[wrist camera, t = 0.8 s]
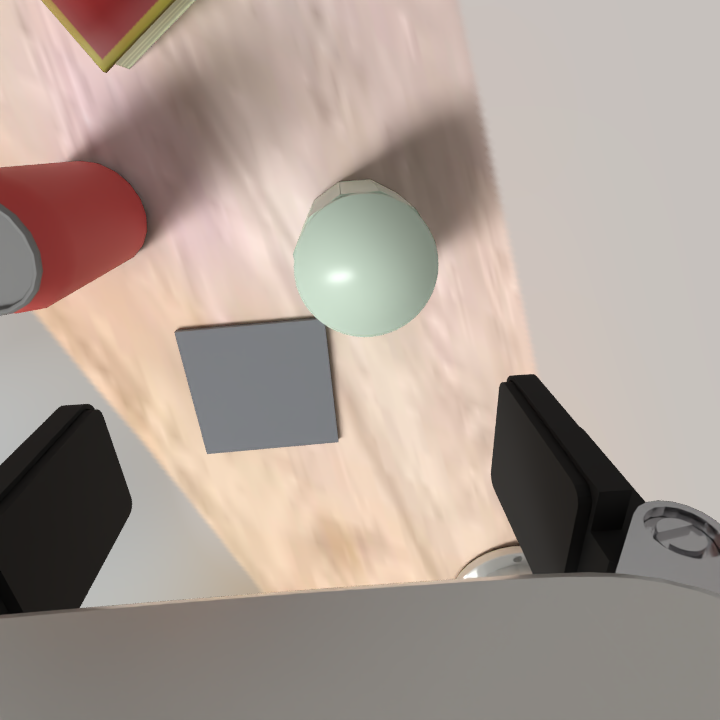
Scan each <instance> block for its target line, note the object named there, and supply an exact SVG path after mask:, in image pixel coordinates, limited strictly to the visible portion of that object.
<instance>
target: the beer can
mask: <svg viewBox="0 0 720 720" xmlns="http://www.w3.org/2000/svg"><path fill="white" fill-rule="evenodd" d="M146 233H147V222H146V213H145V211H144V208H143V205H142V202H141V199H140V198H139V196H138V195H137V193H136V192H135V191H134V189H133V188H132V186H131V185H130V184H129V183H128V182H127V181H126V180H125V179H124V178H122V177H121V176H120V175H119V174H118V173H116V172H115V171H113V170H111V169H109V168H107V167H105V166H102V165H100V164H98V163H92V162H85V161H73V162H61V163H49V164H37V165H25V166H13V167H1V168H0V316H1V315H7V314H12V313H21V312H27V311H32V310H38V309H43V308H47V307H49V306H50V305H52V304H54V303H55V302H57V301H59V300H61V299H62V298H64V297H66V296H68V295H69V294H71V293H73V292H74V291H76V290H78V289H80V288H81V287H83V286H85V285H86V284H88V283H90V282H92V281H93V280H95V279H97V278H98V277H100V276H102V275H104V274H105V273H107V272H109V271H110V270H112V269H114V268H116V267H117V266H119V265H121V264H122V263H124V262H126V261H127V260H129V259H131V258H133V257H134V256H135V255H136V253H137V252H138V251H139V250H140V248H141V247H142V246H143V243H144V240H145V236H146Z"/></svg>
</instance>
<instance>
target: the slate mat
mask: <svg viewBox="0 0 720 720" xmlns="http://www.w3.org/2000/svg"><path fill="white" fill-rule="evenodd" d="M175 336H176V340H177V344H178V347H179V351H180V355H181V359H182V362H183V366H184V370H185V373H186V377H187V381H188V385H189V388H190V392H191V396H192V400H193V403H194V407H195V411H196V414H197V418H198V422H199V426H200V429H201V433H202V437H203V441H204V444H205V448H206V452H207V454H212V453H223V452H234V451H245V450H256V449H267V448H278V447H290V446H301V445H312V444H323V443H334V442H338V432H337V424H336V415H335V406H334V397H333V389H332V380H331V371H330V362H329V354H328V345H327V336H326V328H325V324H323V323H322V322H320V321H319V320H318V319H317V318H310V319H299V320H287V321H276V322H264V323H253V324H241V325H230V326H219V327H207V328H196V329H184V330H176V331H175Z"/></svg>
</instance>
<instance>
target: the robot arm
mask: <svg viewBox="0 0 720 720" xmlns="http://www.w3.org/2000/svg"><path fill="white" fill-rule="evenodd" d="M491 479H492V484H493V487H494V490H495V492H496V494H497V496H498V499H499V501H500V503H501V505H502V507H503V510H504V512H505V514H506V516H507V518H508V521H509V523H510V525H511V527H512V529H513V532H514V534H515V536H516V538H517V540H518V542H519V545H520V546H511V547H506V548H501V549H497V550H494V551H491V552H488V553H486V554H484V555H482V556H480V557H478V558H477V559H475V560H474V561H473V562H471V563H470V564H468V565H467V566H466V567H465V568H464V569H463V570H462V571H461V572H460V574H459V575H458V576H457V578H456V579H448V580H434V581H420V582H407V583H393V584H379V585H365V586H351V587H337V588H324V589H311V590H298V591H285V592H272V593H259V594H247V595H234V596H221V597H209V598H197V599H183V600H171V601H160V602H147V603H137V604H136V603H135V604H124V605H112V606H100V607H88V608H80V606H81V604H82V602H83V601H84V599H85V597H86V595H87V593H88V591H89V589H90V588H91V586H92V584H93V582H94V580H95V578H96V576H97V575H98V573H99V571H100V569H101V567H102V565H103V563H104V562H105V560H106V558H107V556H108V554H109V552H110V550H111V549H112V547H113V545H114V543H115V541H116V539H117V537H118V536H119V534H120V532H121V530H122V528H123V526H124V524H125V522H126V521H127V519H128V517H129V515H130V513H131V509H132V499H131V496H130V493H129V490H128V487H127V484H126V481H125V478H124V475H123V472H122V469H121V466H120V464H119V461H118V458H117V455H116V452H115V449H114V446H113V443H112V440H111V437H110V434H109V432H108V429H107V426H106V423H105V420H104V417H103V415H102V413H101V412H100V410H95V409H94V407H93V406H92V405H90V404H81V405H65V406H61V407H59V408H58V409H57V410H56V411H55V412H54V413H53V414H52V415H51V416H50V417H49V418H48V419H47V420H46V421H45V422H44V423H43V424H42V425H41V426H40V427H39V428H38V429H37V430H36V431H35V432H34V433H33V434H32V435H30V437H29V438H27V439H26V440H25V441H24V442H23V443H22V444H21V445H20V446H19V447H18V448H17V449H16V450H15V451H14V452H13V453H12V454H11V455H10V456H9V457H8V458H7V459H6V460H5V461H4V462H3V463H2V464H1V465H0V720H720V524H719V523H718V522H717V521H716V520H714V519H713V518H711V517H709V516H708V515H706V514H705V513H703V512H701V511H699V510H696V509H694V508H691V507H689V506H687V505H683V504H679V503H676V502H670V501H659V500H658V501H651V502H645V501H644V500H643V499H642V497H640V495H639V494H638V493H637V492H636V491H635V490H634V488H633V487H632V486H631V485H630V483H629V482H628V481H627V480H626V479H625V478H624V476H623V475H622V474H621V473H620V472H619V471H618V469H617V468H616V467H615V466H614V465H613V464H612V462H611V461H610V460H609V459H608V458H607V457H606V456H605V454H604V453H603V452H602V451H601V449H600V448H599V447H598V446H597V445H596V444H595V442H594V441H593V440H592V439H591V438H590V437H589V435H588V434H587V433H586V432H585V431H584V430H583V429H582V428H581V427H579V426H578V425H577V423H576V422H575V421H574V420H573V419H572V417H570V415H569V414H568V413H567V412H566V410H565V409H564V408H563V407H562V406H561V404H560V403H559V402H558V401H557V400H556V399H555V397H554V396H553V395H552V394H551V393H550V391H549V390H548V389H547V388H546V387H545V386H544V384H543V383H542V382H541V381H540V380H539V378H538V377H537V376H536V375H534V374H529V375H514V376H509V377H508V379H507V382H502V383H501V384H500V387H499V396H498V406H497V416H496V426H495V437H494V447H493V457H492V467H491Z"/></svg>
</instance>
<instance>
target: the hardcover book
mask: <svg viewBox="0 0 720 720" xmlns="http://www.w3.org/2000/svg"><path fill="white" fill-rule="evenodd" d="M195 1H196V0H42V2H43V3H44V4H45V5H46V6H47V7H48V9H49V10H50V11H51V12H52V13H53V14H54V15H55V17H56V18H57V19H58V20H59V21H60V22H61V24H62V25H63V26H64V27H65V28H66V29H67V31H68V32H69V33H70V34H71V35H72V36H73V37H74V39H75V40H76V41H77V42H78V43H79V44H80V46H81V47H82V48H83V49H84V50H85V51H86V53H87V54H88V55H89V56H90V57H91V58H92V59H93V61H94V62H95V63H96V64H97V65H98V66H99V68H100V69H101V70H102V71H103V72H105V73H107V72H108V71H109V70H110V69H111V68H112V67H113V66H114V65H115V64H116V65H119V66H122V67H125V68H128V69H130V68H131V67H132V66H133V65H134V64H135V63H136V62H137V61H138V60H139V59H140V58H141V56H142V55H143V54H144V53H145V52H146V51H147V50H148V49H149V48H150V47H151V46H152V45H153V44H154V43H155V42H156V41H157V40H158V39H159V38H160V37H161V36H162V35H163V34H164V33H165V32H166V31H167V30H168V29H169V28H170V27H171V26H172V25H173V23H174V22H175V21H176V20H177V19H178V18H179V17H180V16H181V15H182V14H183V13H184V12H185V11H186V10H187V9H188V8H189V7H190V6H191V5H192V4H193V3H194V2H195Z"/></svg>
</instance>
